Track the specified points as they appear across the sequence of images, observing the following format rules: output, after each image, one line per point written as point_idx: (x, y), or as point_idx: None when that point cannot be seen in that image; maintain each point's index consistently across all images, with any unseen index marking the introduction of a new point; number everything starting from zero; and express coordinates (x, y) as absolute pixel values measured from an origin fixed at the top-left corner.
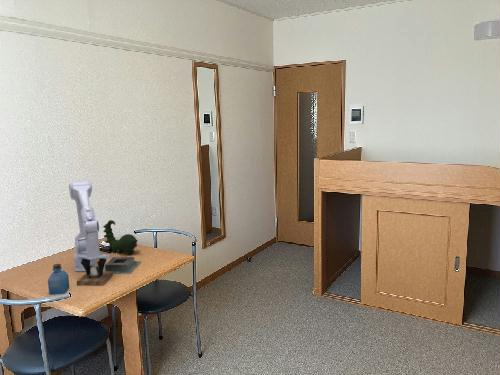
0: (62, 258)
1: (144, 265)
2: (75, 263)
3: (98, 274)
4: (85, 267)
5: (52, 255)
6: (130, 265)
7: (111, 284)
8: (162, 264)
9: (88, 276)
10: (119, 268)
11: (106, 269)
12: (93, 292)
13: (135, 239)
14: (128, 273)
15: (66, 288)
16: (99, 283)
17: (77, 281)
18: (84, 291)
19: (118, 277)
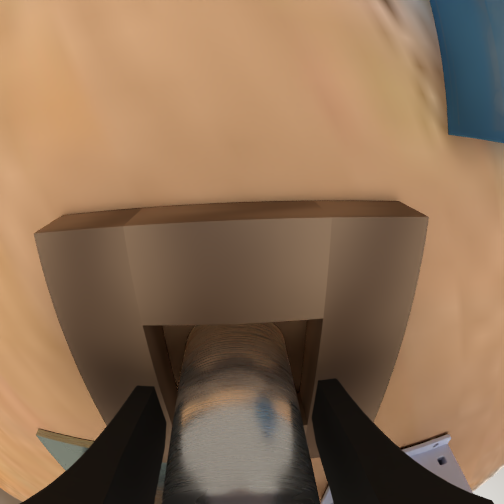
0: (477, 474)
1: None
2: (457, 474)
3: (177, 398)
4: (388, 466)
5: (497, 469)
6: None
7: (9, 250)
8: (12, 472)
9: (321, 372)
10: None
11: None
12: (85, 11)
13: None
14: (51, 433)
15: (458, 51)
16: (88, 219)
17: (416, 214)
18: (212, 12)
19: (62, 393)
